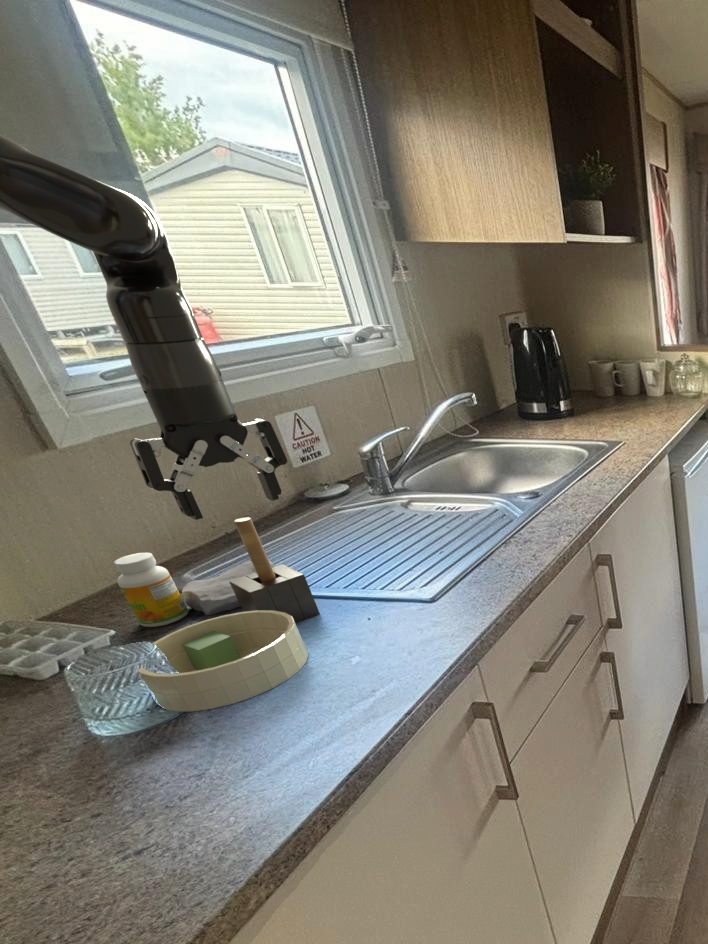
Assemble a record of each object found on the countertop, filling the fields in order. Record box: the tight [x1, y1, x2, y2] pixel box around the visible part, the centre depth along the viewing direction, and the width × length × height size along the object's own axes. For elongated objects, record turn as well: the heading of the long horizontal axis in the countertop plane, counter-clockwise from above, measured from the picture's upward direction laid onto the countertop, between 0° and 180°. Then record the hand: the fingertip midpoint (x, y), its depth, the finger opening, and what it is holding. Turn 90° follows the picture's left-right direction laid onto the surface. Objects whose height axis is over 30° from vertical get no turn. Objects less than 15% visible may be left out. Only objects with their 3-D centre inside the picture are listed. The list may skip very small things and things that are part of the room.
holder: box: [229, 563, 321, 625], centre depth 93 cm, size 7×7×7 cm
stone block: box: [181, 560, 277, 616], centre depth 100 cm, size 12×5×10 cm
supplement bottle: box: [113, 552, 189, 628], centre depth 93 cm, size 5×5×10 cm
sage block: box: [182, 631, 241, 670], centre depth 83 cm, size 4×4×4 cm
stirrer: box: [233, 516, 276, 583], centre depth 91 cm, size 2×2×16 cm
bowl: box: [137, 610, 309, 713], centre depth 81 cm, size 15×15×6 cm
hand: (236, 508), depth 86 cm, fingers open, 8 cm apart
